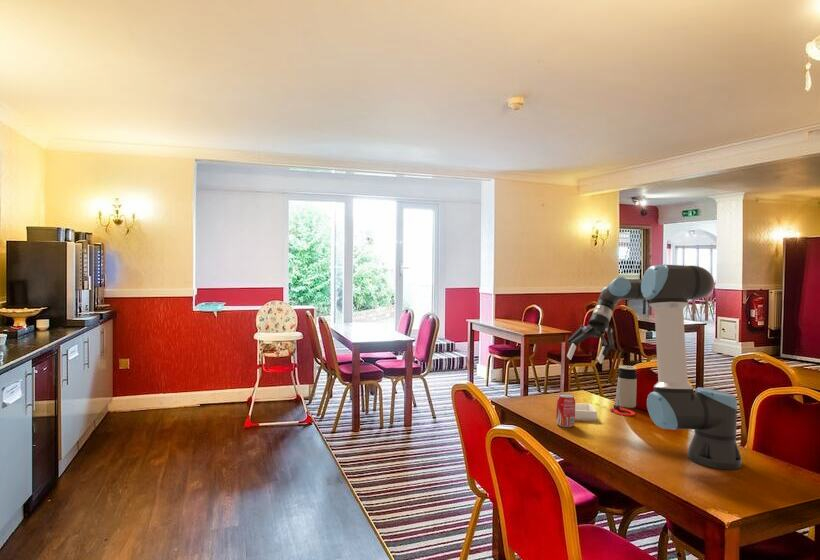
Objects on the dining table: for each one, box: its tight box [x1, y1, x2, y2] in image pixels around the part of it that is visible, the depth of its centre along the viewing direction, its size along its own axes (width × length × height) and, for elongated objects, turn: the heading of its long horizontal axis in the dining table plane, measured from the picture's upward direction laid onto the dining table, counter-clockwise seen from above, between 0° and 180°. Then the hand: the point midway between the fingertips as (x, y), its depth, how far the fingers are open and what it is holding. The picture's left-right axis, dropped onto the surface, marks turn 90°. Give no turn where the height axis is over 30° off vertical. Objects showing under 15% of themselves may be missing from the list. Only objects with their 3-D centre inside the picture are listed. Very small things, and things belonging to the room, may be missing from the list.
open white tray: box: [575, 402, 598, 422], centre depth 213 cm, size 12×12×4 cm
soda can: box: [555, 393, 576, 428], centre depth 200 cm, size 7×7×12 cm
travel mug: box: [617, 365, 638, 409], centre depth 231 cm, size 8×8×18 cm
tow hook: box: [609, 381, 636, 417], centre depth 219 cm, size 8×13×9 cm
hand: (583, 359), depth 205 cm, fingers open, 13 cm apart
